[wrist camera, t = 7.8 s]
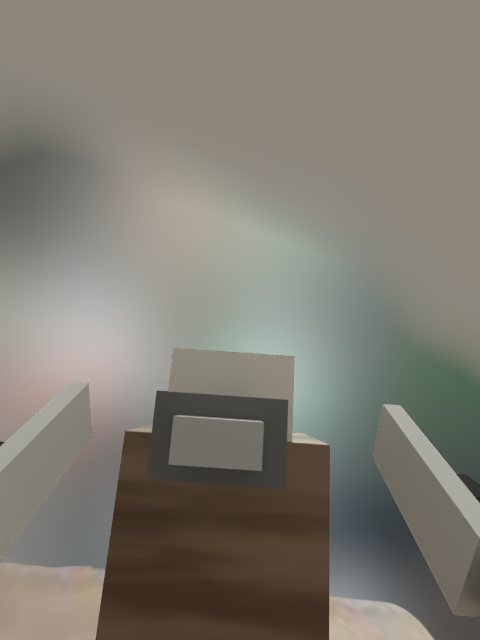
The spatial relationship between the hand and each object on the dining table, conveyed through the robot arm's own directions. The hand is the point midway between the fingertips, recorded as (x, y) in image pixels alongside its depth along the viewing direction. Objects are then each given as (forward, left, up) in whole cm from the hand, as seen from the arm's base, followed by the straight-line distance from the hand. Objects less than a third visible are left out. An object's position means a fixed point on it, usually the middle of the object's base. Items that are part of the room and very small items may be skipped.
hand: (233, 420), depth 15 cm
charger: (-3, +5, -2) cm, 6 cm away
